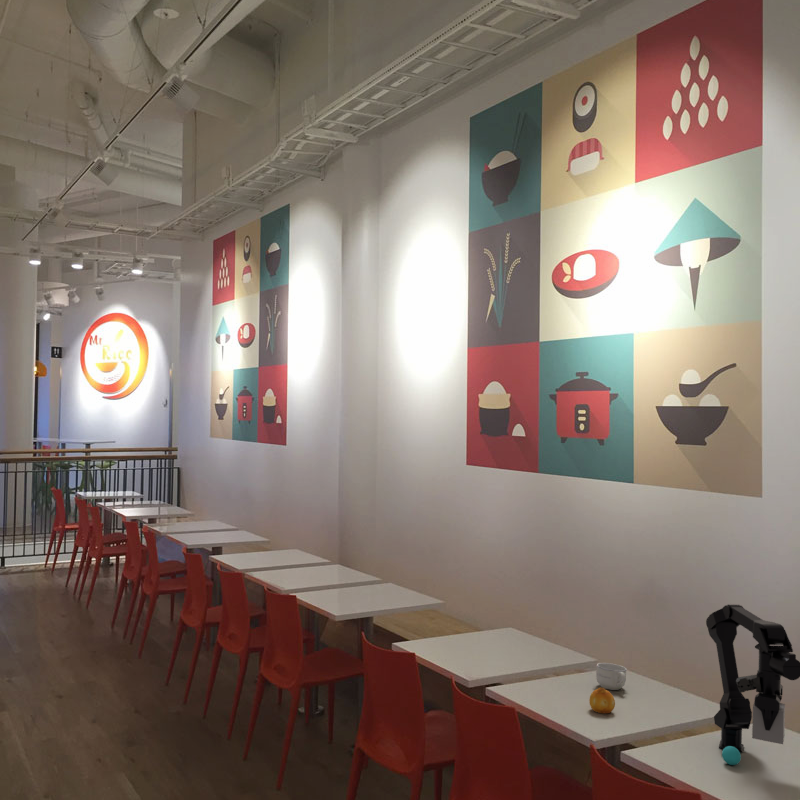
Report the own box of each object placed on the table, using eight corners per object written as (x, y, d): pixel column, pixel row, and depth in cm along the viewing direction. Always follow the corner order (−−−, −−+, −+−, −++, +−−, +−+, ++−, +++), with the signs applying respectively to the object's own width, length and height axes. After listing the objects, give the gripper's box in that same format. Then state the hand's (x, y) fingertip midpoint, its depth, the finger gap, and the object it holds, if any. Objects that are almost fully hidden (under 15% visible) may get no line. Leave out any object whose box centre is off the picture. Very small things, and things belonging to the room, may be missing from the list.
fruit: (594, 709, 260) (604, 687, 262) (581, 703, 267) (591, 681, 270) (612, 721, 261) (623, 699, 264) (599, 715, 269) (609, 693, 271)
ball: (722, 759, 228) (722, 741, 229) (741, 763, 226) (741, 745, 226) (721, 765, 224) (721, 747, 224) (740, 769, 222) (740, 751, 222)
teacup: (591, 683, 297) (592, 661, 297) (619, 683, 298) (620, 661, 298) (605, 695, 283) (606, 672, 283) (634, 695, 284) (635, 673, 284)
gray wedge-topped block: (754, 729, 226) (755, 698, 226) (784, 735, 222) (785, 703, 222) (752, 738, 219) (752, 706, 219) (783, 744, 215) (783, 711, 216)
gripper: (741, 656, 233) (740, 710, 233) (735, 672, 217) (733, 729, 216) (783, 663, 228) (782, 718, 227) (780, 679, 212) (778, 738, 211)
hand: (768, 725), depth 221 cm, fingers closed on gray wedge-topped block, 8 cm apart
